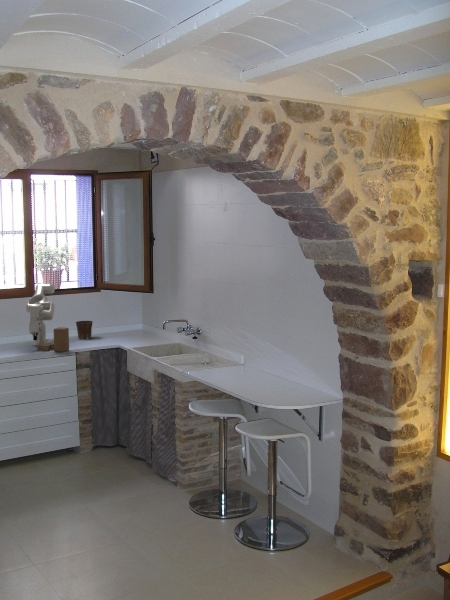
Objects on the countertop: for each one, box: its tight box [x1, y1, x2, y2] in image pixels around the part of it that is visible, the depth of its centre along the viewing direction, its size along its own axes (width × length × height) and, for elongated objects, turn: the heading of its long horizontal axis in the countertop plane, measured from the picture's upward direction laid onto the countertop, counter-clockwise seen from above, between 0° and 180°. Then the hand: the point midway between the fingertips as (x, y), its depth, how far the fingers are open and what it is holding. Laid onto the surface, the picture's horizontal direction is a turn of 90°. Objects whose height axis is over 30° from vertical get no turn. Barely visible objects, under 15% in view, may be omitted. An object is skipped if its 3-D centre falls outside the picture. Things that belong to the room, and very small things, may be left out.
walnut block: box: [37, 342, 54, 352], centre depth 584 cm, size 10×10×5 cm
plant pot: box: [75, 320, 93, 340], centre depth 641 cm, size 16×16×16 cm
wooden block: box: [53, 326, 70, 353], centre depth 577 cm, size 10×10×20 cm
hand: (35, 340), depth 586 cm, fingers closed
